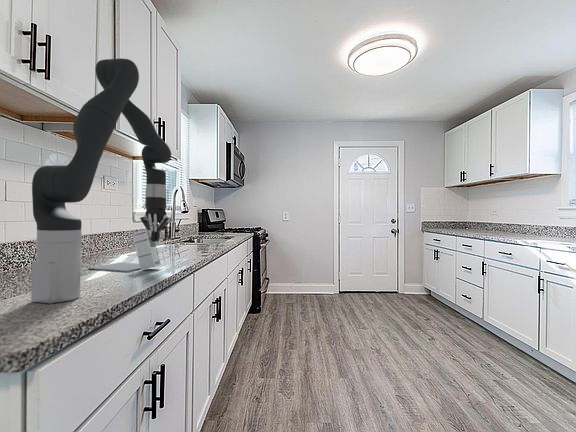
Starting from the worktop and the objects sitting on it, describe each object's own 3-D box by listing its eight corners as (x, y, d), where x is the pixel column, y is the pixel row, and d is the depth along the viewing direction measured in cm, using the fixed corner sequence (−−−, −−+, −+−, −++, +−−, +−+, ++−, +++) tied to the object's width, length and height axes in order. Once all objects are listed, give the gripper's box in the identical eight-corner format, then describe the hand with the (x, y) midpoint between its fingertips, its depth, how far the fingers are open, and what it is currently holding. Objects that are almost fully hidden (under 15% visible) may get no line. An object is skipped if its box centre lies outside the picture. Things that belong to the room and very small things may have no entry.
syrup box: (155, 266, 126) (146, 229, 127) (140, 270, 126) (131, 233, 127) (161, 265, 132) (152, 229, 133) (146, 268, 132) (138, 233, 133)
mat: (127, 272, 122) (127, 270, 122) (87, 269, 127) (87, 267, 127) (155, 266, 138) (155, 264, 138) (119, 263, 142) (119, 262, 142)
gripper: (134, 196, 127) (134, 241, 127) (164, 195, 123) (163, 242, 123) (148, 197, 134) (147, 240, 134) (176, 197, 130) (176, 241, 130)
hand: (155, 241), depth 128 cm, fingers closed
